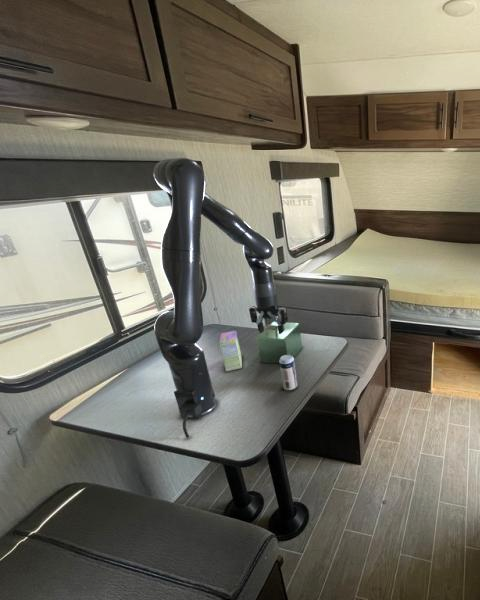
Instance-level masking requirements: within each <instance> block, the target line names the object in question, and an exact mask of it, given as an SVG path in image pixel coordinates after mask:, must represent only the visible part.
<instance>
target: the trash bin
mask: <svg viewBox="0 0 480 600" xmlns="http://www.w3.org/2000/svg"><path fill="white" fill-rule="evenodd" d="M256 342H257V346H258V353H259V358H260V363H267V364H280V363H279V361H280V358H281V357H282V356H284V355H291V356H292V357H293V358H294V359H295V357H296V356H297V355H298V353H299V352H300V350H302V348H303V343H302V334H301V327H300V324H299V326H298V327H297V328H296V329H295V330H294V331H293V332H292V333H291V334H290V335H289V336H288V337H287V338H286V339H285V341H279V340H262V339H256Z"/></svg>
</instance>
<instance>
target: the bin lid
mask: <svg viewBox="0 0 480 600" xmlns="http://www.w3.org/2000/svg"><path fill="white" fill-rule="evenodd" d="M283 325H284V331H283V333H282V334H279V331H278V324H277V323H276V322H275V321H273V322H271V323H270V324H263V326H264V332H262V333H260V332H259V333H258V334H257V336H255V337H254V338H255V340H257V339H262V340H279V341H285V339H286V338H287V337H288V336H289V335H290V334H291V333H292V332H293V331H294V330H295V329H296V328H297V327H298V326H299V325H300V322H286V323H285V324H283Z"/></svg>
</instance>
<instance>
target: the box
mask: <svg viewBox="0 0 480 600" xmlns="http://www.w3.org/2000/svg"><path fill="white" fill-rule="evenodd" d="M218 345H219V349H220V353H221V356H222V361H223V366H224V370H225V372H230V371H235V370H238V369H242V368H243V367H242V366H243V361H242V358H243V357H242V351H241V346H240V342H239V337H238V333H237V330H231V331H226V332H221V333H220V337H219V344H218Z"/></svg>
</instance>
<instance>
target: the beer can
mask: <svg viewBox="0 0 480 600" xmlns="http://www.w3.org/2000/svg"><path fill="white" fill-rule="evenodd" d="M278 364H279V369H280V375H281V381H282V389H284V390H285V391H292V390H295V389H296V388H298V377H297V371H296V362H295V357H294V358H293V357H292V356H291V355H284V356H282V357H281V358H280V361H279V363H278Z"/></svg>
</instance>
